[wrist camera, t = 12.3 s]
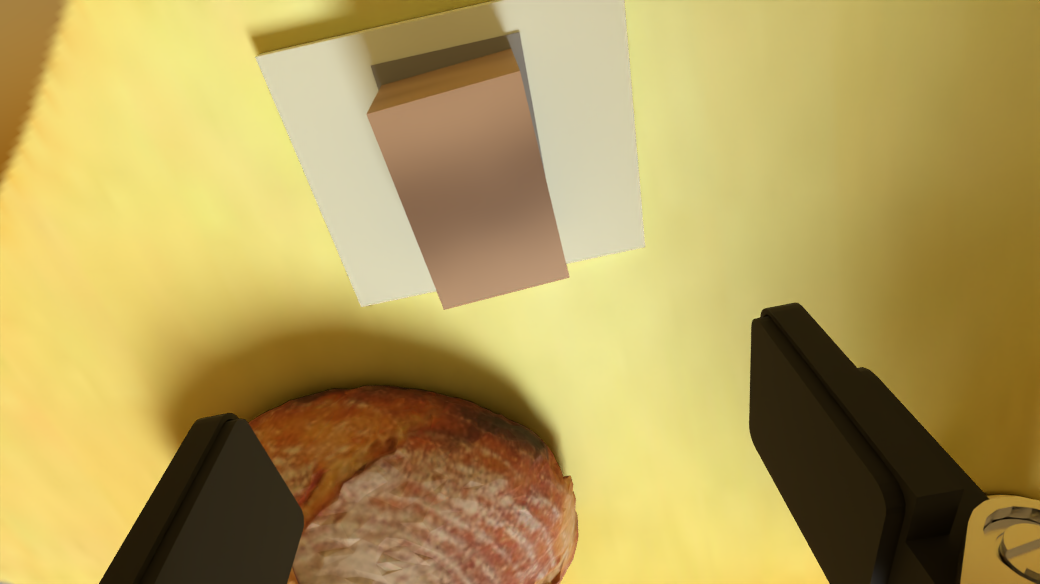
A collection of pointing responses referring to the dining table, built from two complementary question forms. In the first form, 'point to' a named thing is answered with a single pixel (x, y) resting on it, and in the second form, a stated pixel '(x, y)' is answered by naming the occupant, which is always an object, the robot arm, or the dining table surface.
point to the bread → (419, 490)
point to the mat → (441, 43)
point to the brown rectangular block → (471, 178)
